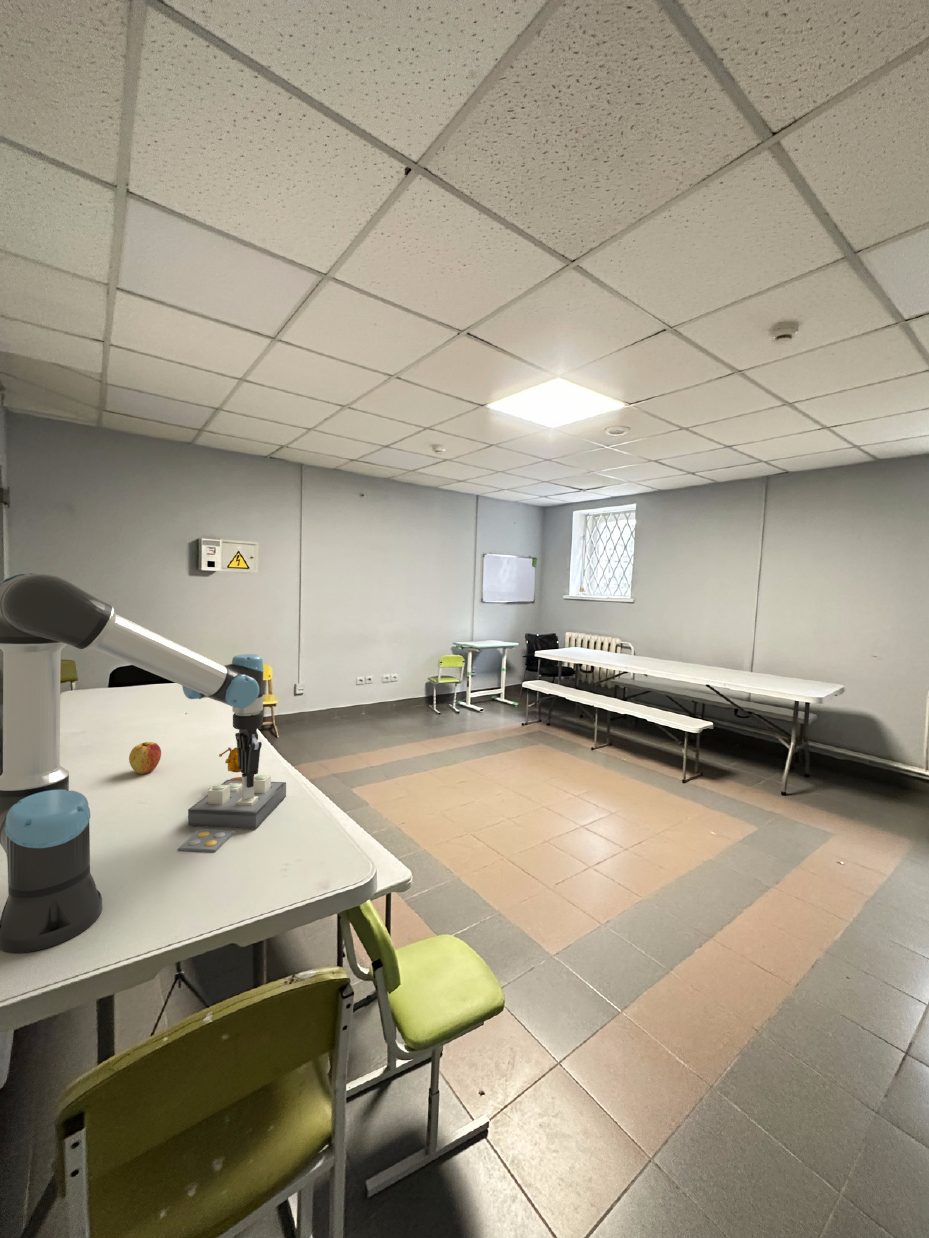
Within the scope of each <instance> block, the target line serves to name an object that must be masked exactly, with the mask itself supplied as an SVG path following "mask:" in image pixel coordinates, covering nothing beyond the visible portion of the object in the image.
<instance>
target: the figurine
mask: <svg viewBox="0 0 929 1238" xmlns="http://www.w3.org/2000/svg"><path fill="white" fill-rule="evenodd" d="M228 751H229V754H228V758H226V760H225V763H224V764H227V772H231V773H241V769H239V764H238V752H237V747H234V748H233V749H232V748H231V747H230V746H229V747H228V748H227V749H226V750H224V751H222V752H221V753H219V755H218V757H221V758H222V757H223V755H224V754H226V753H227V752H228ZM229 780H242V776H240V777H239V776H238V777H237V776H236V777H231V778H230V779H229Z"/></svg>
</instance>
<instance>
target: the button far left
mask: <svg viewBox="0 0 929 1238" xmlns="http://www.w3.org/2000/svg"><path fill="white" fill-rule="evenodd" d="M229 785H230V792H239V791H240V790H241V789H242V784H239V783H230V784H229Z"/></svg>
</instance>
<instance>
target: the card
mask: <svg viewBox="0 0 929 1238" xmlns="http://www.w3.org/2000/svg"><path fill="white" fill-rule="evenodd" d="M234 834H235V831H234V830H223V829H222V830H219V829H202V828H201V829H198V830H197V831H196V832H195V833H193V835H192V836H190V837H189V838H188V839H187V840H186V841H184V843H182V844H181V845H180V846H178V848H177V850H178V851H188V852H190V851H191V852H205V853H206V852H211V853H216V852H217V851H218V850H220V848H221V847H222V846H223V845H224V844H225V843H226V842H227V841H229V839H230V838H232V836H233V835H234Z"/></svg>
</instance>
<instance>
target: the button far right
mask: <svg viewBox="0 0 929 1238" xmlns="http://www.w3.org/2000/svg"><path fill="white" fill-rule="evenodd" d="M271 779H272V776H271V775H266V774H256V775H254V793H264V794H266V793H267V792H268V791H269V790H270V789H271V782H272V780H271Z"/></svg>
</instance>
